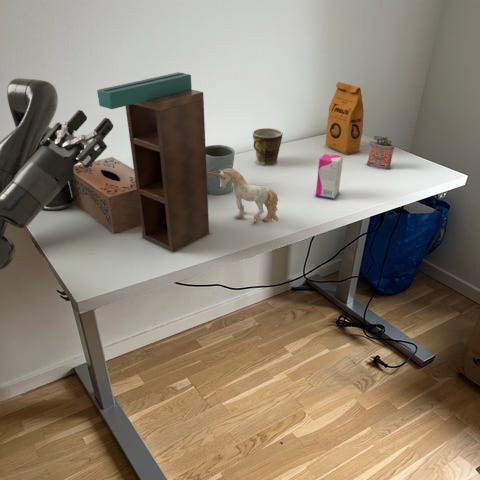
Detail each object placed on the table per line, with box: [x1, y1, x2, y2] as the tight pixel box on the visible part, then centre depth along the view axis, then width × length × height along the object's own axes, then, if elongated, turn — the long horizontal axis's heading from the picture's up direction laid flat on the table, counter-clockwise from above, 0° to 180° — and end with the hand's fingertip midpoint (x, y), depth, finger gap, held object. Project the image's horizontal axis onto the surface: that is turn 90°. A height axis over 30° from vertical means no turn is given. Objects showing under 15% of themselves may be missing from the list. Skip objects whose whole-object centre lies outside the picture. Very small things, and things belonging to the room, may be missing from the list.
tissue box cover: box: [68, 156, 141, 234], centre depth 137 cm, size 26×14×10 cm, turn 39°
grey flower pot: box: [206, 144, 236, 196], centre depth 148 cm, size 10×10×12 cm
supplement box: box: [315, 152, 344, 200], centre depth 145 cm, size 6×6×12 cm
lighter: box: [366, 134, 395, 170], centre depth 165 cm, size 8×3×10 cm, turn 58°
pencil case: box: [96, 71, 193, 110], centre depth 103 cm, size 22×4×3 cm, turn 139°
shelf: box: [125, 89, 210, 253], centre depth 117 cm, size 13×11×34 cm
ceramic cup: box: [252, 127, 283, 167], centre depth 167 cm, size 13×10×10 cm
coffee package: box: [324, 81, 364, 156], centre depth 175 cm, size 10×12×22 cm
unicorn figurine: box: [207, 168, 280, 225], centre depth 132 cm, size 7×20×13 cm, turn 74°
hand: (96, 117), depth 97 cm, fingers open, 8 cm apart
